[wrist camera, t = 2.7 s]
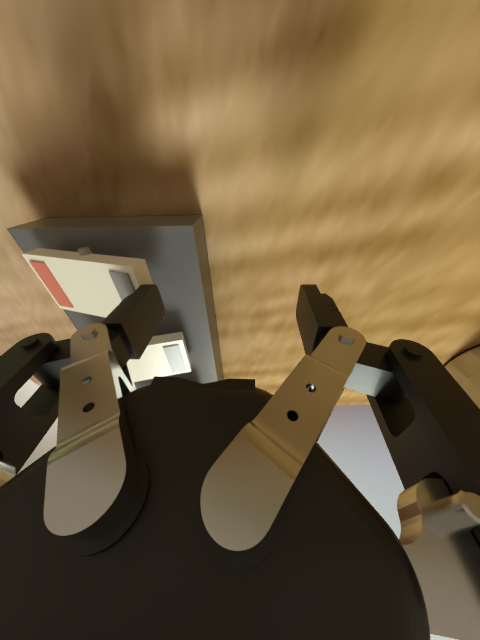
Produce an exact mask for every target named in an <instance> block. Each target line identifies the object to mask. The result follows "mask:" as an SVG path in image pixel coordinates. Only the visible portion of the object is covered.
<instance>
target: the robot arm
mask: <svg viewBox="0 0 480 640" xmlns="http://www.w3.org/2000/svg"><path fill="white" fill-rule="evenodd" d="M119 304H120V305H118V306H117V307H116V308H115V309H114V310H113V311H112V312H111V313H110V314H109V315H108V316H107V317H106V318H105V319H104V320H103V321H102V322H101V323H97V324H91V325H88V326H85V327H83V328H81V329H79V330H78V331H76V332H75V333H74V334H73V335H72V336H71V339H66V340H61V341H55V340H54V338H53V337H52V336H51V335H50V334H48V333H40V334H35V335H32V336H29V337H27V338H25V339H23V340H21V341H19V342H18V343H16V344H15V345H14V346H12V347H11V348H10V349H9V350H8V351H6V352H5V353H4V354H3V355H1V356H0V640H430V634H435V635H440V636H445V637H450V638H454V639H459V640H480V346H479V347H476V348H474V349H471V350H469V351H467V352H465V353H463V354H461V355H459V356H458V357H456V358H455V359H453V360H452V361H450V362H449V363H448V364H447V365H446V366H445V367H444V366H443V365H442V363H441V362H440V361H439V360H438V359H437V357H436V356H435V355H434V354H433V353H432V352H431V351H430V350H429V349H428V348H426V347H425V346H423V345H421V344H419V343H416V342H414V341H410V340H404V339H399V340H394V341H393V342H392V343H391V344H390V346H389V347H385V346H380V345H376V344H372V343H368V342H366V339H365V337H364V336H363V335H362V334H361V333H360V332H358V331H356V330H354V329H352V328H349V327H348V326H347V324H346V322H345V320H344V319H343V317H342V315H341V313H340V311H339V310H338V308H337V306H336V304H335V302H334V301H333V299H332V298H331V297H329V296H328V295H327V294H320V292H319V290H318V288H317V286H316V285H301V286H300V290H299V296H298V302H297V308H296V319H297V323H298V327H299V331H300V334H301V338H302V342H303V346H304V350H305V354H306V355H305V356H304V357H303V358H302V360H301V361H300V362H299V363H298V365H297V366H296V367H295V368H294V370H293V371H292V372H291V373H290V375H289V376H288V377H287V379H286V380H285V381H284V382H283V384H282V385H281V386H280V387H279V389H278V390H277V391H276V392H275V394H274V395H272V394H270V393H268V392H267V391H264V390H262V389H259V388H256V387H255V379H225V380H220V381H215V382H210V383H204V384H201V383H197V382H194V381H190V380H187V379H183V378H180V377H157V376H154V378H153V381H152V383H151V385H147V386H144V387H141V388H138V389H136V388H135V384H134V381H133V378H132V374H131V371H130V367H129V365H128V363H127V362H128V360H129V359H140V358H141V356H142V354H143V353H144V351H145V349H146V347H147V346H148V344H149V342H150V341H151V339H152V337H153V335H154V334H155V332H156V330H157V329H158V327H159V325H160V323H161V322H162V320H163V318H164V316H165V308H164V304H163V301H162V298H161V295H160V292H159V289H158V287H157V285H155V284H143V285H140V286H139V287H138V288H137V290H136V291H135V292H134V293H132V294H130V295H129V296H127V297H125V298H124V299H123V300H122V301H121V302H120V303H119ZM32 375H33V376H34V377H36V378H37V379H38V380H39V381H40V382H41V383H42V385H41V386H40V387H39V388H38V390H37V391H36V392H35V393H34V394H33V395H32V397H31V398H30V399H29V400H28V401H27V402H26V403H25V404H24V405H23V406H22V408H20V407H19V406H18V405H16V403H15V401H14V397H15V394H16V392H17V391H18V390H19V389H20V388H21V387H22V386H23V385H24V384H25V383H26V382H27V380H29V378H30V377H31V376H32ZM344 388H348V389H351V390H354V391H358V392H361V393H364V394H366V395H367V398H368V400H369V402H370V405H371V407H372V410H373V412H374V415H375V417H376V420H377V422H378V424H379V427H380V430H381V432H382V434H383V437H384V439H385V442H386V444H387V447H388V449H389V452H390V454H391V457H392V459H393V462H394V464H395V466H396V469H397V471H398V474H399V476H400V479H401V481H402V484H403V486H404V489H405V490H404V491H403V492H401V493H400V495H399V497H398V500H397V510H398V514H399V518H400V523H401V534H400V539H398V538H397V536H396V535H395V533H394V532H393V530H392V529H391V528H390V526H389V525H388V524H387V523H386V522H385V520H384V519H383V518H382V517H381V516H380V514H379V513H378V512H377V511H376V510H375V509H374V507H372V505H371V504H370V503H369V502H368V501H367V499H366V498H365V497H364V496H363V495H362V494H361V493H360V491H359V490H358V489H357V488H356V487H355V486H354V484H353V483H352V482H351V481H350V480H349V479H348V478H347V476H346V475H345V474H344V473H343V472H342V471H341V469H340V468H339V467H338V466H337V465H336V464H335V463H334V461H333V460H332V459H331V458H330V457H329V456H328V454H327V453H326V452H325V451H324V450H323V449H322V448H321V446H320V445H319V444H318V443H317V441H318V439H319V437H320V435H321V433H322V431H323V429H324V427H325V425H326V423H327V421H328V419H329V417H330V415H331V413H332V411H333V409H334V407H335V406H336V404H337V402H338V400H339V398H340V396H341V394H342V392H343V390H344ZM57 417H58V430H57V432H58V433H57V445H56V447H54V448H53V449H51V450H50V451H48V452H47V453H46V454H44V455H43V456H42V457H40V458H39V459H38V460H36V461H35V462H34V463H32V464H31V465H29V466H28V467H27V468H25V469H24V470H23V471H21V472H20V473H19V474H17V473H18V472H19V471H20V469H21V468H22V466H23V465H24V463H25V462H26V461H27V459H28V458H29V457H30V455H31V454H32V452H33V451H34V450H35V448H36V447H37V445H38V444H39V443H40V441H41V440H42V438H43V437H44V435H45V434H46V433H47V431H48V430H49V428H50V427H51V426H52V424H53V423H54V421H55V420H56V419H57Z"/></svg>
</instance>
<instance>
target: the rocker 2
mask: <svg viewBox="0 0 480 640" xmlns="http://www.w3.org/2000/svg"><path fill="white" fill-rule="evenodd" d="M127 363H128V365H129V367H130V371H131V374H132V378H133V381H134V382H138V381H143V380H148V379H153V378H154V376H157V377H164V376H170V375H175V374H180V373H186V372H191V361H190V358H189V354H188V350H187V347H186V343H185V339H184V336H183V332H177V333H171V334H164V335H158V336H153V337H152V339H151V341H150V342H149V344H148V346H147V347H146V349H145V351H144V353H143V354H142V356H141V358H140V359H129V360H128V362H127Z"/></svg>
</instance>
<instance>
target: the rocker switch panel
mask: <svg viewBox="0 0 480 640" xmlns="http://www.w3.org/2000/svg"><path fill="white" fill-rule="evenodd" d="M7 230H8V231H9V233H10V234H11V236H12V237H13V238H14V240H15V241H16V243H17V244H18V246H19V247H20V248H21V250H22V251H23V253H25V252H28V251H31V250H34V249H37V248H43V249H53V250H63V251H72V252H78V250H77V249H78V248H81V247H89V248H90V250H91V252H92V254H101V255H110V256H120V257H129V258H139V259H145V261H146V264H147V267H148V270H149V273H150V276H151V280H152V283H153V284H155V285H157V287H158V289H159V292H160V295H161V298H162V301H163V304H164V308H165V316H164V319H163V320H162V322H161V323H160V325H159V327H158V329H157V330H156V332H155V334H154V335H153V336H158V335H164V334H171V333H177V332H183V336H184V339H185V343H186V347H187V350H188V354H189V358H190V361H191V372H186V373H180V374H175V375H170V376H164V377H180V378H183V379H187V380H190V381H194V382H197V383H201V384H204V383H210V382H215V381H220V380H224V378H223V370H222V363H221V355H220V347H219V339H218V332H217V324H216V316H215V308H214V301H213V293H212V285H211V278H210V270H209V262H208V254H207V247H206V239H205V231H204V223H203V216H202V215H168V216H119V217H69V218H43V219H39V220H36V221H32V222H29V223H25V224H22V225H18V226H15V227H11V228H8V229H7ZM63 310H64V311H65V313H66V314H67V316H68V317H69V319H70V320H71V321H72V323H73V324H74V326H75V327H76V329H77V330H79V329H81V328H83V327H85V326H88V325H91V324H97V323H101V322H102V321H103V320H104V319H105V317H100V316H95V315H90V314H85V313H80V312H75V311H70V310H65V309H63ZM152 381H153V379H148V380H143V381H138V382H134V384H135V388H136V389H138V388H141V387H144V386H147V385H151V383H152Z"/></svg>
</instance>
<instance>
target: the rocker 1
mask: <svg viewBox="0 0 480 640" xmlns="http://www.w3.org/2000/svg"><path fill="white" fill-rule="evenodd" d="M77 250H78V252H72V251H63V250H53V249H43V248H37V249H34V250H31V251H28V252H25V253H22V255H23V256H24V258H25V259H26V261H27V262H28V264H29V265H30V266H31V268H32V269H33V271H34V272H35V273H36V275H37V276H38V278H39V279H40V281H41V282H42V283H43V285H44V286H45V288H46V289H47V290H48V292H49V293H50V295H51V296H52V297H53V299H54V300H55V302H56V303H57V305H58V306H59V307H60V309H65V310H70V311H75V312H80V313H85V314H90V315H95V316H100V317H105V318H106V317H107V316H108V315H109V314H110V313H111V312H112V311H113V310H114V309H115V308H116V307H117V306H118V305H120V304H119V303H120V302H121V301H122V300H123V299H124V298H125V297H127V296H129V295H130V294H132V293H134V292H135V291H136V290H137V288H138V287H139V286H140V285H143V284H153V283H152V280H151V276H150V273H149V270H148V267H147V264H146V261H145V259H139V258H129V257H120V256H110V255H101V254H92V252H91V250H90V248H89V247H81V248H78V249H77ZM163 319H164V318H163Z"/></svg>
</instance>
